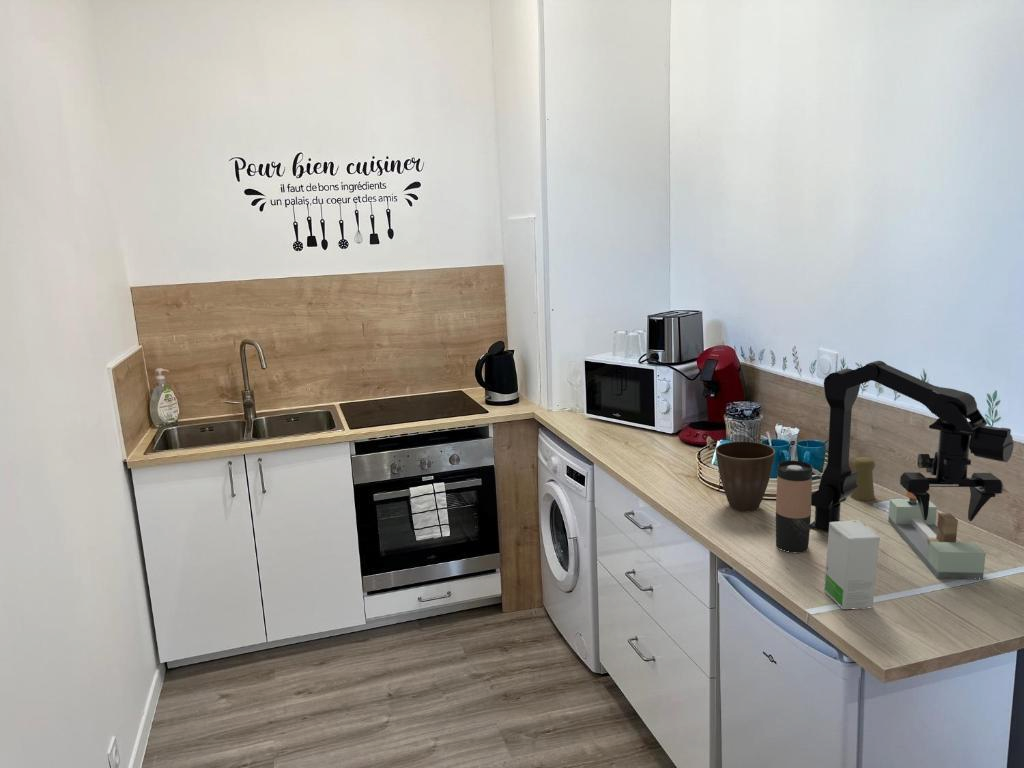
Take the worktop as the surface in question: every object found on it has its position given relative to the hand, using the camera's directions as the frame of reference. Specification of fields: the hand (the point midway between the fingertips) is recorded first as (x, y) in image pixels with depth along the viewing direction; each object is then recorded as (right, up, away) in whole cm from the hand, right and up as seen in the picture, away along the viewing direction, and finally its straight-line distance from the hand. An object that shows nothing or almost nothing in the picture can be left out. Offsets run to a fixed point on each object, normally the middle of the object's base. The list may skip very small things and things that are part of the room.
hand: (947, 519), depth 165 cm
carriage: (0, -7, +1) cm, 7 cm away
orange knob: (+3, 0, +20) cm, 20 cm away
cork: (0, -1, +41) cm, 41 cm away
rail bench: (+1, -8, +9) cm, 12 cm away
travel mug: (-29, -9, +13) cm, 33 cm away
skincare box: (-27, -14, -12) cm, 33 cm away
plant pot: (-33, -3, +38) cm, 50 cm away
